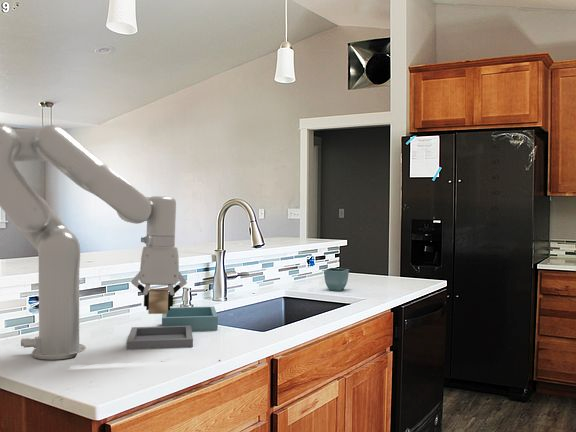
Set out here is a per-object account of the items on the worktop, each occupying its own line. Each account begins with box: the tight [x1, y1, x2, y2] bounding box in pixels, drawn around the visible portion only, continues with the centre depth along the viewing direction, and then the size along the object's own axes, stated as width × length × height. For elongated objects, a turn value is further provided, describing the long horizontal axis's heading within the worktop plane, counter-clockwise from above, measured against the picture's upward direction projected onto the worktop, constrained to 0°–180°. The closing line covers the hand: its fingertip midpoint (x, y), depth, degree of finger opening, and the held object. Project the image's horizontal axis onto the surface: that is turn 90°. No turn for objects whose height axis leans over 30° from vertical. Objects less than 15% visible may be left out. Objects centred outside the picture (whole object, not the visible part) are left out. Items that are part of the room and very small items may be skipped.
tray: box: [161, 306, 219, 332], centre depth 177 cm, size 16×16×5 cm
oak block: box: [147, 288, 169, 315], centre depth 157 cm, size 5×5×6 cm
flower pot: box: [323, 267, 350, 292], centre depth 254 cm, size 9×9×9 cm
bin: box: [126, 325, 194, 351], centre depth 158 cm, size 17×17×3 cm
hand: (158, 308), depth 157 cm, fingers closed on oak block, 4 cm apart
